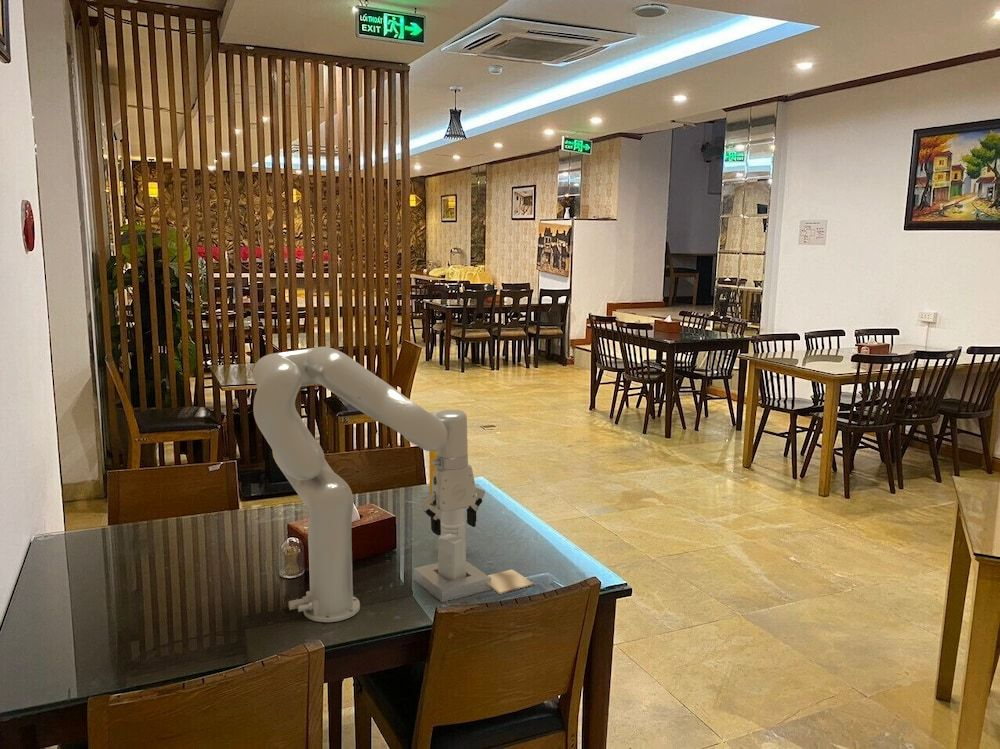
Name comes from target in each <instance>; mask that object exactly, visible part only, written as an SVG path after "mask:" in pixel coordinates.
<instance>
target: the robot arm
mask: <svg viewBox="0 0 1000 749" xmlns="http://www.w3.org/2000/svg"><path fill="white" fill-rule="evenodd" d="M252 377H253V381H254V382H255V384H256V386H257V389H256V392H255V395H254V398H253V407H252V408H253V417H254V420H255V423H256V425H257V427H258V429H259V431H260V432H261V434H262V435H263V437H264V439H265V440H266V442H267V443H268V445H269V446H270V448H271V450H272V451H271V452H272V457H273V459H274V462H275V463H276V465H277V467H278V468H279V469H280V471H281V472H282V474H283V475H284V476H285V478H286V479H287V481H288V482H289V485H290V486H292V488H293V490H294V491H295V492H296V493H297V495H298V497H299V498H300V499H301V501H302V502H303V503H304V504H305V505H306V507H307V508H308V511H309V512H308V513H309V514H308V515H309V519H308V525H307V526H308V529H307V542H308V543H307V545H308V546H307V547H308V570H309V571H308V572H309V590H307V591H306V592H305V596H302V598H299V599H294V600H288V608H289V610H290V611H291V610H295V609H297V611H298V613H301V612H303V614H304V615H303V616H305V617H306V619H309V620H311V621H313V622H319V623H334V622H335V623H337V622H341V621H344V620H348V619H349V618H352V617H354V616H355V615H356V614H358V613H359V611H360V609H361V602H360V600H359V599H358V598H357V597H356V596H354V590H353V589H354V586H353V584H354V583H353V582H354V581H353V550H352V548H353V547H352V546H353V544H352V523H353V522H352V521H353V514H354V496H353V495H354V494H353V492H352V489H351V487H350V485H349V484H348V483H347V482H346V481H345V479H343V478H342V477H341V476H339V474H337V473H335V472H334V470H333V468H332V467H331V466H330V465H329V463H328V461H327V460H326V459H325V457H326V456H325V453H324V450H323V448H322V446H321V445H320V442H319V441H317V439H315V437H314V436H313V434H312V433H311V432H310V430H309V428H308V427H307V426H306V424H305V423H304V420H303V419H302V418H301V416H300V414H299V413H298V411H297V408H296V398H297V396H298V393H299V392H300V390H301V388H302V387H307V386H311V385H316V384H319V385H321V386H322V387H324V388H325V389H327V391H330V392H331V393H332V394H334V395H335V396H337V397H339V398H340V399H341V400H343V401H345V402H346V403H348V404H349V405H350V406H352V407H354V408H355V409H356V410H358V411H360V412H361V413H363V414H365V416H368V417H369V418H371V419H372V420H374V421H376V422H378V423H381V424H383V425H384V426H386V427H389V428H390V429H392V430H393V431H395V432H397V433H398V434H400V435H402V436H403V438H404V439H405V440H407V441H408V442H409V443H412V444H413V445H415V446H417V447H419V448H420V449H422V450H424V451H426V452H429V451H436V454H437V456H436V459H435V460H432V465H433V466H435V465H436V466H437V467H436V468H435V470H434V475H433V483H432V494H431V495H430V494H429V495H428V496H427V497H426V498H424V499H423V500H422V501H421V502H420V503H419V505H420V507H421V509H422V510H423V512H424V513H425V514H426V515H427V516H429V517H430V529H431V531H432V533H434V534H435V535H437V536H440V534H441V518H439V517H441V513H442V511H443V512H447V511H452V510H457V509H461V508H464V509H465V508H466V524H467V525H468V526H471V527H472V528H476V527H477V525H476V524H477V523H476V522H477V511H478V510H479V507H480V506H481V504H482V503H483V499H484V497H485V494H486V491H485V490H484V489H481V488H480V487H477V486H476V484H475V475H474V473H473V468H472V465H471V464H469V455H468V453H469V451H468V444H469V443H468V416H467V413H466V412H464V411H463V410H459V409H443V410H441V411H436V412H435V411H427V410H425V409H424V408H423V407H421V406H420V405H418V404H417V403H415V402H414V401H413V400H411V399H409V398H408V397H406V396H405V395H404V394H403V393H402V392H400V391H399V390H397V389H396V388H395V387H393V386H392V385H390V384H389V383H388V382H386V381H385V380H383V379H382V378H380V377H379V376H377V375H376V374H374V373H373V372H372V371H370V370H369V369H367V368H366V367H364V365H361V363H359V362H357V361H356V360H355V359H353V358H352V357H350V356H349V355H348V354H346V353H344V352H343V351H341V350H338V349H336V348H332V347H329V346H317V347H311V348H310V347H309V348H302V349H295V350H288V351H282V352H274V353H269V354H266V355H264V356H262V357H260V358H258V360H257V362H255V364H254V367H253V368H252ZM431 503H432V504H433V505H432V504H431ZM430 505H432V506H433V507H431V508H430V507H429V506H430Z"/></svg>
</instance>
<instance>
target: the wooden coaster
mask: <svg viewBox="0 0 1000 749" xmlns="http://www.w3.org/2000/svg"><path fill="white" fill-rule="evenodd" d="M488 576H489V577H491V590H492V589H493V590H492V591H494V592H495V591H496V592H497V594H498V595H499V594H501V595H504V594H503V593H505V594H507V593H506V592H508V593H510V592H509V591H512V590H516V589H520V588H523V587H524V588H523V589H526V588H525V587H527V588H529V587H528V586H531V587H534V586H535V583H534V582H533V581H531V580H530V579H528V577H527V578H526V577H525V576H523V575H522V574H520V573H519V572H518V571H516V570H514V569H507V570H503V571H499V572H496V573H492V574H488ZM533 585H534V586H533ZM520 590H521V589H520ZM516 591H517V590H516ZM496 592H495V593H496ZM512 592H513V591H512Z"/></svg>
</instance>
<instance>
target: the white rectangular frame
mask: <svg viewBox="0 0 1000 749" xmlns="http://www.w3.org/2000/svg"><path fill="white" fill-rule="evenodd" d="M488 575H489V574H488ZM488 575H487V573H485V572H483V571H482V570H480V569H479V568H477V567H476V566H475V565H473V564H471V563H470V562H469V561H467V560H466V577H465V578H461V579H457V580H453V581H449V582H448V581H446V580H445V579H444V578H442V577H441V576H440V575H438V562H435V563H431V564H426V565H422V566H417V567H413V580H414V581H415V582H416V583H417V584H418V585H420V586H421V587H422V586H423V587H424V588H423V587H422V588H423V589H424V590H426V591H427V592H428V593H430V594H431V595H432V596H433V595H434V596H433V597H434V598H436V599H437V600H438V599H439V600H440V602H441V603H444V602H443V601H446V602H449V601H448V600H450V601H453V599H454V600H457V599H461V598H464V597H468V596H472V595H476V594H480V593H483V592H487V591H491V590H492V589H491V577H489V576H488ZM439 600H438V601H439Z"/></svg>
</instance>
